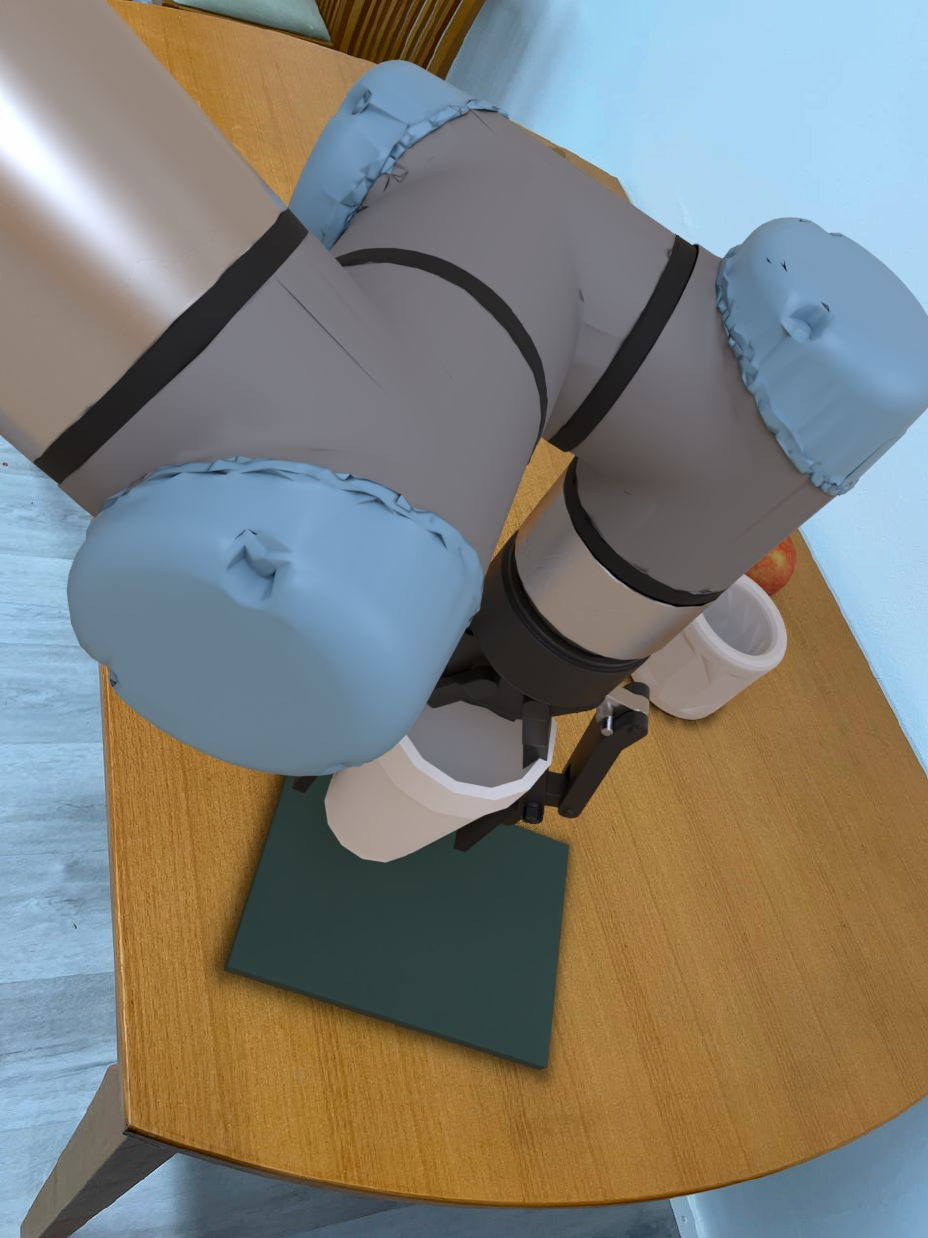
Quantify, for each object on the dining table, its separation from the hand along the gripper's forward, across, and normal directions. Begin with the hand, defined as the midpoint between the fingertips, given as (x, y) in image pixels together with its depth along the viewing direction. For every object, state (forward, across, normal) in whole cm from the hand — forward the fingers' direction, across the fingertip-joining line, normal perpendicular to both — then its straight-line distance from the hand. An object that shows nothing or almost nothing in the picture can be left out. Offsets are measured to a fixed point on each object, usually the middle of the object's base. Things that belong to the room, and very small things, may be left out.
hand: (385, 800), depth 56 cm
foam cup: (+2, 0, 0) cm, 2 cm away
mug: (+12, -26, -29) cm, 41 cm away
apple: (+12, -34, -45) cm, 58 cm away
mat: (+12, -7, 0) cm, 14 cm away
